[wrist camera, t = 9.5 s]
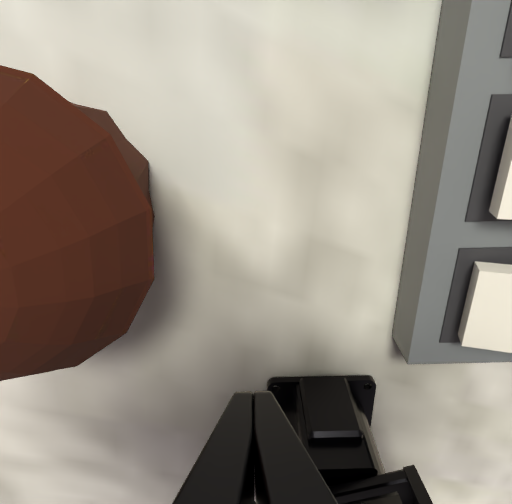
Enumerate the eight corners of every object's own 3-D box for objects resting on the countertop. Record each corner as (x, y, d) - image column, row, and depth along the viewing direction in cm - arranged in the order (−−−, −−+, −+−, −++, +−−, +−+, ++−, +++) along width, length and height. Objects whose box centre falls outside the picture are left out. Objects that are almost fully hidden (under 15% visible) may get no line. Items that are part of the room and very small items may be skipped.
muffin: (64, 326, 23) (-60, 498, 14) (-112, 169, 19) (-451, 261, 10) (231, 207, 20) (216, 324, 11) (64, -5, 16) (-178, -103, 7)
